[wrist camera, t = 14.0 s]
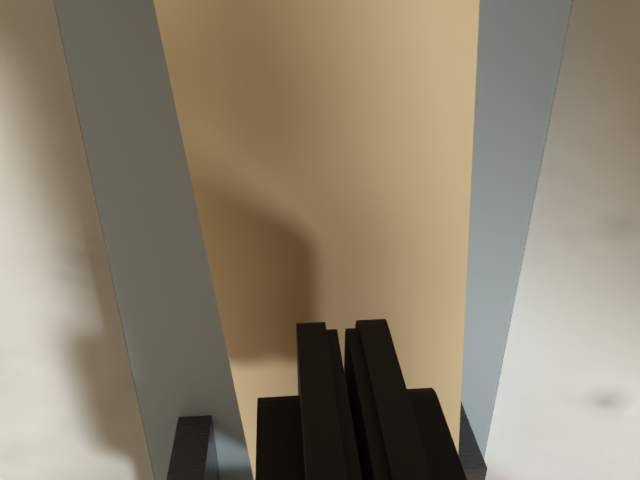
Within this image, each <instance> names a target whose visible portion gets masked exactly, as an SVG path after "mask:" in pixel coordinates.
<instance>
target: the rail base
mask: <svg viewBox="0 0 640 480" xmlns="http://www.w3.org/2000/svg"><path fill="white" fill-rule="evenodd" d="M572 2H573V0H480V3H479V25H478V46H477V67H476V89H475V110H474V131H473V153H472V174H471V195H470V217H469V238H468V259H467V281H466V302H465V323H464V344H463V366H462V387H461V408H460V430H459V451H458V456H459V459H460V461H461V464H462V467H463V470H464V473H465V476H466V478H467V480H485V476H486V471H487V467H486V464H485V462H484V456H485V451H486V446H487V441H488V435H489V430H490V425H491V420H492V415H493V410H494V404H495V399H496V394H497V389H498V384H499V379H500V373H501V368H502V363H503V358H504V353H505V348H506V342H507V337H508V332H509V327H510V322H511V317H512V311H513V306H514V301H515V296H516V291H517V286H518V281H519V275H520V270H521V265H522V260H523V255H524V250H525V244H526V239H527V234H528V229H529V224H530V219H531V213H532V208H533V203H534V198H535V193H536V188H537V182H538V177H539V172H540V167H541V162H542V157H543V151H544V146H545V141H546V136H547V131H548V126H549V121H550V115H551V110H552V105H553V100H554V95H555V90H556V84H557V79H558V74H559V69H560V64H561V59H562V53H563V48H564V43H565V38H566V33H567V28H568V22H569V17H570V12H571V7H572ZM54 4H55V9H56V14H57V18H58V23H59V28H60V33H61V37H62V42H63V47H64V52H65V56H66V61H67V66H68V71H69V75H70V80H71V85H72V90H73V94H74V99H75V104H76V109H77V113H78V118H79V123H80V128H81V132H82V137H83V142H84V147H85V151H86V156H87V161H88V166H89V170H90V175H91V180H92V185H93V189H94V194H95V199H96V204H97V208H98V213H99V218H100V223H101V227H102V232H103V237H104V242H105V246H106V251H107V256H108V261H109V265H110V270H111V275H112V280H113V284H114V289H115V294H116V299H117V303H118V308H119V313H120V318H121V322H122V327H123V332H124V337H125V341H126V346H127V351H128V356H129V360H130V365H131V370H132V375H133V379H134V384H135V389H136V394H137V398H138V403H139V408H140V413H141V417H142V422H143V427H144V432H145V436H146V441H147V446H148V451H149V455H150V460H151V465H152V470H153V474H154V479H155V480H254V478H253V473H252V468H251V463H250V458H249V454H248V449H247V444H246V439H245V435H244V430H243V425H242V420H241V416H240V411H239V406H238V401H237V397H236V392H235V387H234V382H233V378H232V373H231V368H230V363H229V359H228V354H227V349H226V344H225V339H224V335H223V330H222V325H221V320H220V316H219V311H218V306H217V301H216V297H215V292H214V287H213V282H212V278H211V273H210V268H209V263H208V259H207V254H206V249H205V244H204V239H203V235H202V230H201V225H200V220H199V216H198V211H197V206H196V201H195V197H194V192H193V187H192V182H191V178H190V173H189V168H188V163H187V159H186V154H185V149H184V144H183V139H182V135H181V130H180V125H179V120H178V116H177V111H176V106H175V101H174V97H173V92H172V87H171V82H170V78H169V73H168V68H167V63H166V59H165V54H164V49H163V44H162V40H161V35H160V30H159V25H158V20H157V16H156V11H155V6H154V1H153V0H54Z"/></svg>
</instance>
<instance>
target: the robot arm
mask: <svg viewBox="0 0 640 480" xmlns="http://www.w3.org/2000/svg"><path fill="white" fill-rule="evenodd" d="M296 341H297V375H298V395H296V396H279V397H262V398H258V400H257V432H256V476H255V480H467V478H466V476H465V473H464V470H463V467H462V464H461V461H460V459H459V456H458V453H457V450H456V447H455V444H454V442H453V439H452V436H451V433H450V430H449V427H448V425H447V422H446V419H445V416H444V413H443V410H442V408H441V405H440V402H439V399H438V396H437V394H436V392H435V390H434V389H433V388H416V389H407V388H406V385H405V381H404V378H403V374H402V371H401V368H400V364H399V361H398V357H397V354H396V350H395V347H394V344H393V340H392V337H391V333H390V330H389V327H388V323H387V321H386V319H371V320H357V321H356V324H355V328H347V329H345V351H344V368H343V362H342V356H341V350H340V344H339V338H338V332H337V329H327V330H326V324H325V322H311V323H296Z"/></svg>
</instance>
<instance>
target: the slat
mask: <svg viewBox="0 0 640 480" xmlns="http://www.w3.org/2000/svg"><path fill="white" fill-rule="evenodd" d="M153 1H154V6H155V11H156V16H157V20H158V25H159V30H160V35H161V40H162V44H163V49H164V54H165V59H166V63H167V68H168V73H169V78H170V82H171V87H172V92H173V97H174V101H175V106H176V111H177V116H178V120H179V125H180V130H181V135H182V139H183V144H184V149H185V154H186V159H187V163H188V168H189V173H190V178H191V182H192V187H193V192H194V197H195V201H196V206H197V211H198V216H199V220H200V225H201V230H202V235H203V239H204V244H205V249H206V254H207V259H208V263H209V268H210V273H211V278H212V282H213V287H214V292H215V297H216V301H217V306H218V311H219V316H220V320H221V325H222V330H223V335H224V339H225V344H226V349H227V354H228V359H229V363H230V368H231V373H232V378H233V382H234V387H235V392H236V397H237V401H238V406H239V411H240V416H241V420H242V425H243V430H244V435H245V439H246V444H247V449H248V454H249V458H250V463H251V468H252V473H253V478H254V480H255V476H256V432H257V400H258V398H262V397H279V396H296V395H298V375H297V341H296V323H311V322H325V324H326V330H327V329H337V332H338V338H339V344H340V350H341V356H342V362H343V368H344V351H345V329H347V328H355V324H356V321H357V320H371V319H386V321H387V323H388V327H389V330H390V333H391V337H392V340H393V344H394V347H395V350H396V354H397V357H398V361H399V364H400V368H401V371H402V374H403V378H404V381H405V385H406V388H407V389H416V388H433V389H434V390H435V392H436V394H437V396H438V399H439V402H440V405H441V408H442V410H443V413H444V416H445V419H446V422H447V425H448V427H449V430H450V433H451V436H452V439H453V442H454V444H455V447H456V450H457V453H458V451H459V430H460V408H461V387H462V366H463V344H464V323H465V302H466V281H467V259H468V238H469V217H470V195H471V174H472V153H473V131H474V110H475V89H476V67H477V46H478V25H479V3H480V0H153Z"/></svg>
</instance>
